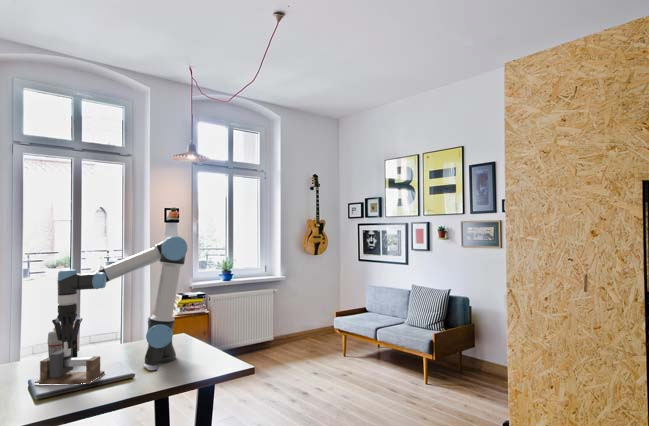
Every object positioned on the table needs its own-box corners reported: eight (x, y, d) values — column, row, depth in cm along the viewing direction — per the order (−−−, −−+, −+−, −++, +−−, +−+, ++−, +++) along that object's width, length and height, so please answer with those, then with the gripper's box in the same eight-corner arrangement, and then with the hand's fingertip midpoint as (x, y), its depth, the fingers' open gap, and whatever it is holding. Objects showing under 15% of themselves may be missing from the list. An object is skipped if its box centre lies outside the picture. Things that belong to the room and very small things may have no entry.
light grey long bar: (95, 364, 191) (95, 356, 191) (91, 366, 188) (91, 358, 188) (50, 365, 192) (50, 357, 192) (45, 367, 188) (45, 359, 188)
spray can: (58, 373, 199) (58, 331, 199) (43, 372, 200) (44, 330, 201) (72, 367, 207) (72, 327, 208) (58, 366, 208) (58, 326, 209)
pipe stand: (104, 374, 196) (104, 353, 196) (88, 384, 183) (88, 362, 183) (54, 375, 196) (54, 354, 196) (34, 385, 183) (34, 363, 183)
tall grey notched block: (72, 369, 194) (72, 347, 195) (58, 377, 184) (58, 354, 185) (64, 369, 194) (64, 348, 195) (49, 377, 185) (49, 354, 185)
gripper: (86, 301, 194) (86, 353, 193) (58, 302, 195) (58, 353, 194) (76, 304, 187) (76, 357, 186) (47, 305, 187) (47, 358, 186)
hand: (67, 355), depth 190 cm, fingers closed
